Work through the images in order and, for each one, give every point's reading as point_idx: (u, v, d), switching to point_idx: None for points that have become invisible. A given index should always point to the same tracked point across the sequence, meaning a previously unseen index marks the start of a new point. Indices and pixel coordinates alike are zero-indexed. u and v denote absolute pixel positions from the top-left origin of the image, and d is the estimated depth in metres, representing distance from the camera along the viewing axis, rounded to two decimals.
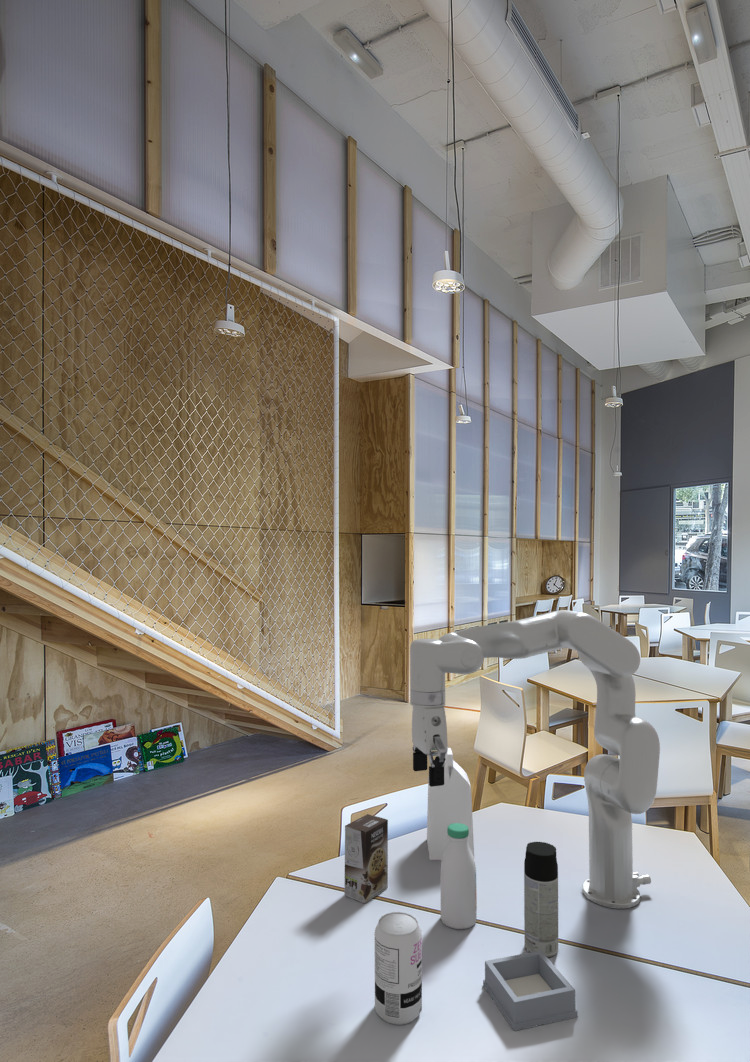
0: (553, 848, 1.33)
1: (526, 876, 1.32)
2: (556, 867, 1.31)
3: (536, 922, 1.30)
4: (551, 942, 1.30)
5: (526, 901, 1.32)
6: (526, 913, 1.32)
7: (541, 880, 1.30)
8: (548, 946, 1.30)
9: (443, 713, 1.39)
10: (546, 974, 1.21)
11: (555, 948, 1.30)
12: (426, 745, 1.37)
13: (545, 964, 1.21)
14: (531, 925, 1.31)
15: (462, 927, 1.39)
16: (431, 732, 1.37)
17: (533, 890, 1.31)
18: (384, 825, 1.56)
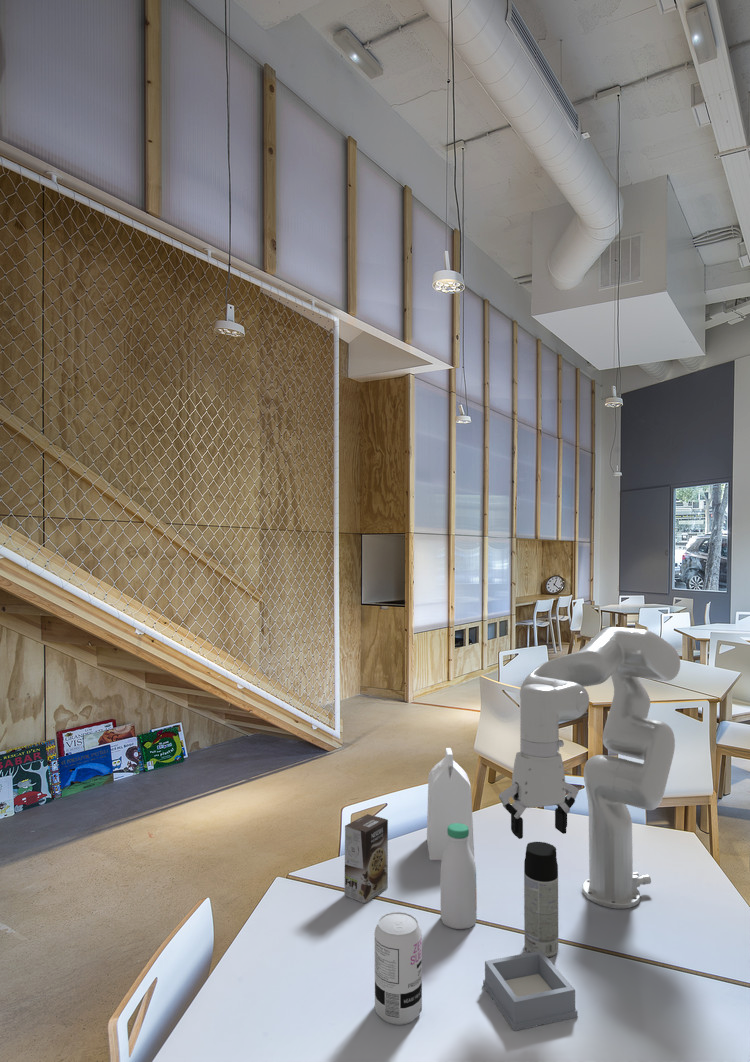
0: (553, 848, 1.33)
1: (526, 876, 1.32)
2: (556, 867, 1.31)
3: (536, 922, 1.30)
4: (551, 942, 1.30)
5: (526, 901, 1.32)
6: (526, 913, 1.32)
7: (541, 880, 1.30)
8: (548, 946, 1.30)
9: None
10: (546, 974, 1.21)
11: (555, 948, 1.30)
12: (564, 793, 1.33)
13: (545, 964, 1.21)
14: (531, 925, 1.31)
15: (462, 927, 1.39)
16: None
17: (533, 890, 1.31)
18: (384, 825, 1.56)
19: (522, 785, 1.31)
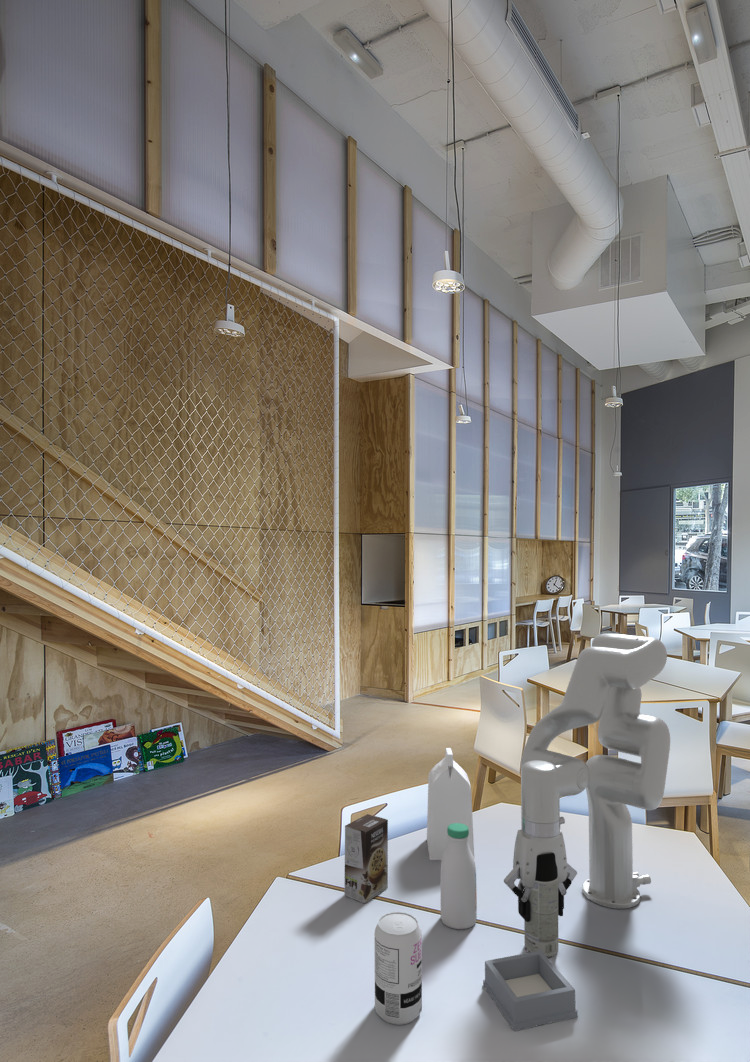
0: None
1: None
2: (556, 867, 1.31)
3: (536, 922, 1.30)
4: (551, 941, 1.30)
5: None
6: None
7: (541, 880, 1.30)
8: (548, 946, 1.30)
9: None
10: (546, 974, 1.21)
11: (555, 948, 1.30)
12: (565, 871, 1.33)
13: (545, 964, 1.21)
14: (531, 925, 1.31)
15: (462, 927, 1.39)
16: None
17: (533, 890, 1.31)
18: (384, 825, 1.56)
19: (523, 865, 1.30)
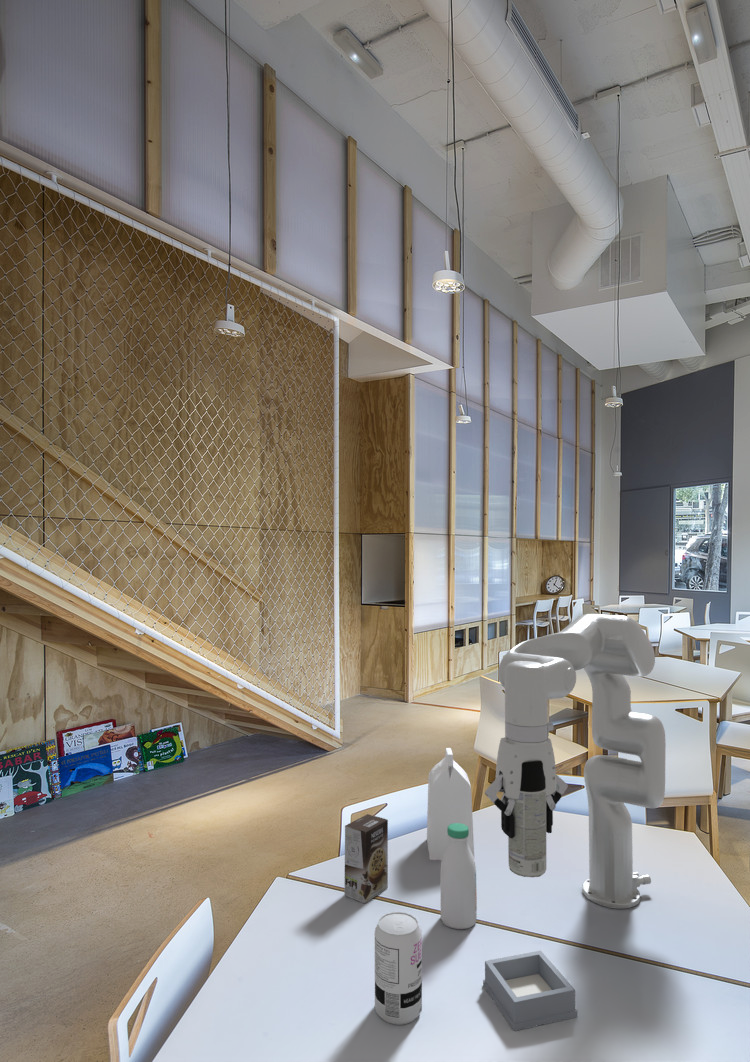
0: None
1: None
2: (544, 777, 1.17)
3: (521, 838, 1.16)
4: (537, 859, 1.15)
5: None
6: None
7: (527, 790, 1.15)
8: (535, 865, 1.15)
9: None
10: (546, 974, 1.21)
11: (542, 867, 1.16)
12: (554, 782, 1.18)
13: (545, 964, 1.21)
14: (516, 842, 1.16)
15: (462, 927, 1.39)
16: None
17: (518, 802, 1.16)
18: (384, 825, 1.56)
19: (507, 774, 1.16)
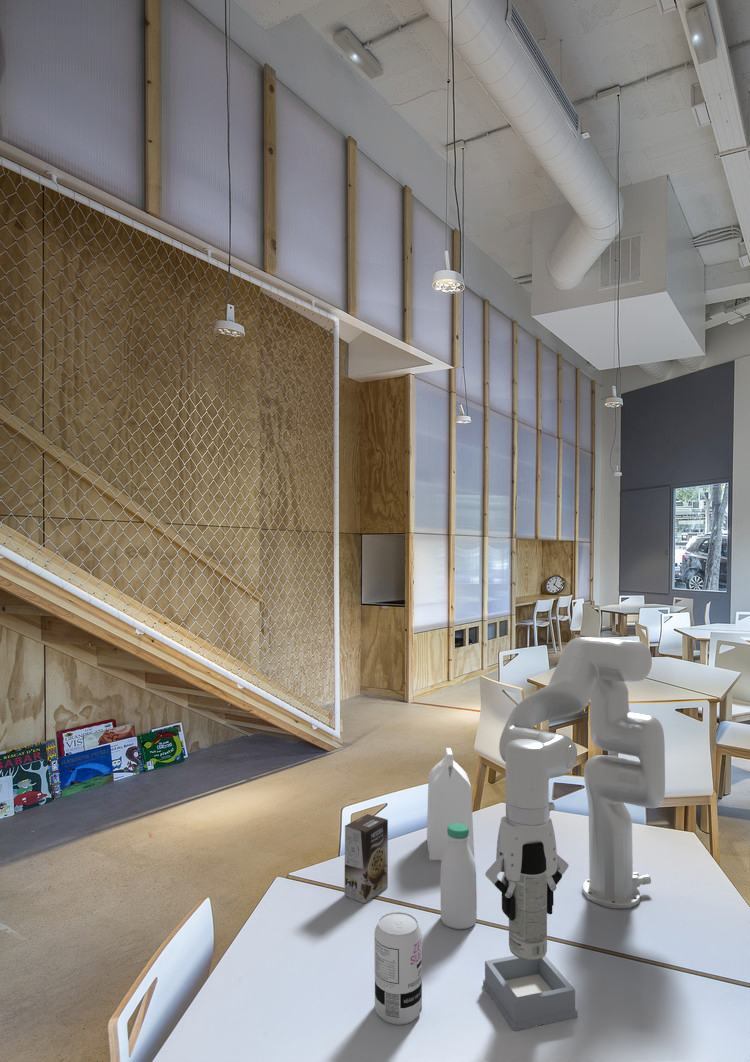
0: None
1: None
2: (545, 858, 1.16)
3: (521, 921, 1.15)
4: (538, 943, 1.15)
5: None
6: None
7: (527, 873, 1.15)
8: (535, 948, 1.15)
9: None
10: (546, 974, 1.21)
11: (543, 949, 1.15)
12: (555, 863, 1.18)
13: (545, 964, 1.21)
14: (516, 924, 1.16)
15: (462, 927, 1.39)
16: None
17: (518, 885, 1.16)
18: (384, 825, 1.56)
19: (507, 857, 1.15)
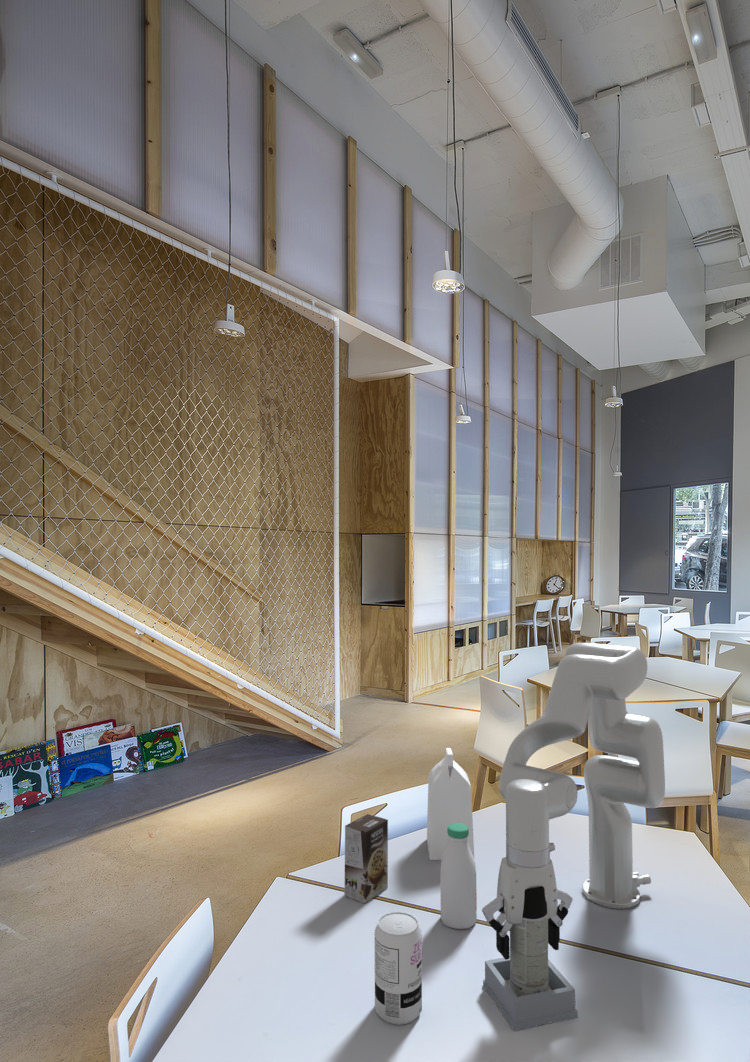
0: None
1: None
2: (545, 902, 1.16)
3: (522, 965, 1.15)
4: (539, 987, 1.15)
5: (512, 940, 1.17)
6: (512, 954, 1.17)
7: (528, 917, 1.15)
8: (537, 992, 1.15)
9: None
10: None
11: None
12: (556, 905, 1.17)
13: None
14: (517, 968, 1.16)
15: (462, 927, 1.39)
16: None
17: (520, 929, 1.16)
18: (384, 825, 1.56)
19: (508, 899, 1.15)
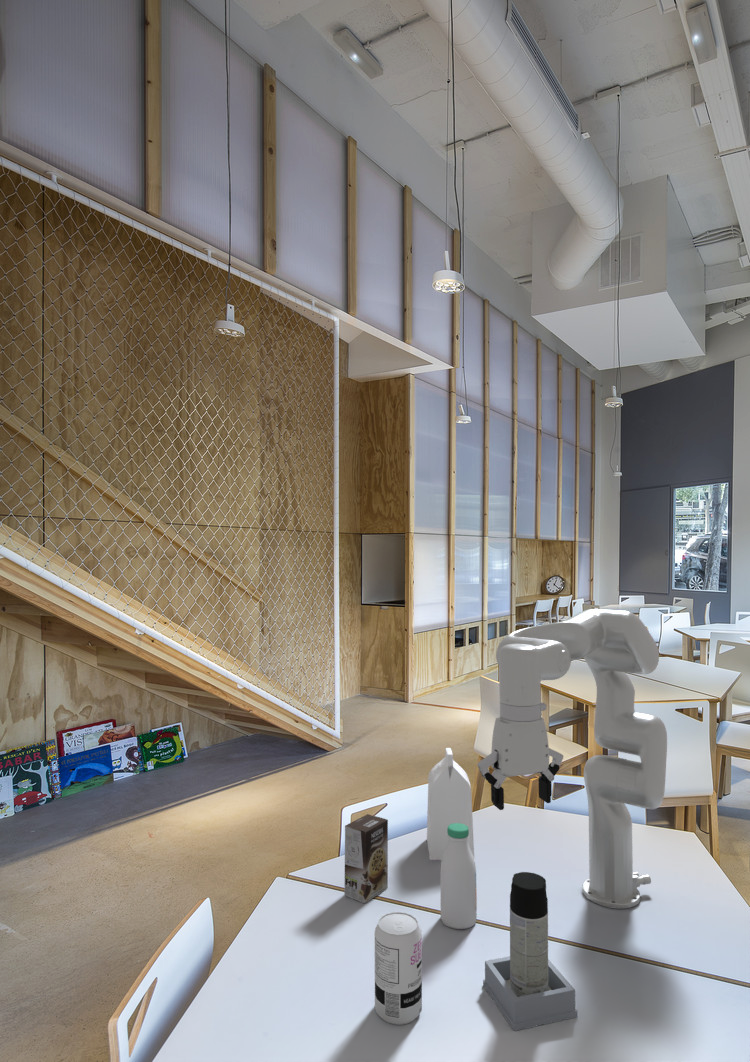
0: (542, 880, 1.18)
1: (512, 912, 1.17)
2: (546, 902, 1.16)
3: (522, 965, 1.15)
4: (539, 987, 1.15)
5: (512, 940, 1.17)
6: (512, 954, 1.17)
7: (528, 917, 1.15)
8: (537, 992, 1.15)
9: None
10: None
11: None
12: (547, 759, 1.23)
13: None
14: (518, 968, 1.16)
15: (462, 927, 1.39)
16: None
17: (520, 929, 1.16)
18: (384, 825, 1.56)
19: (502, 752, 1.20)
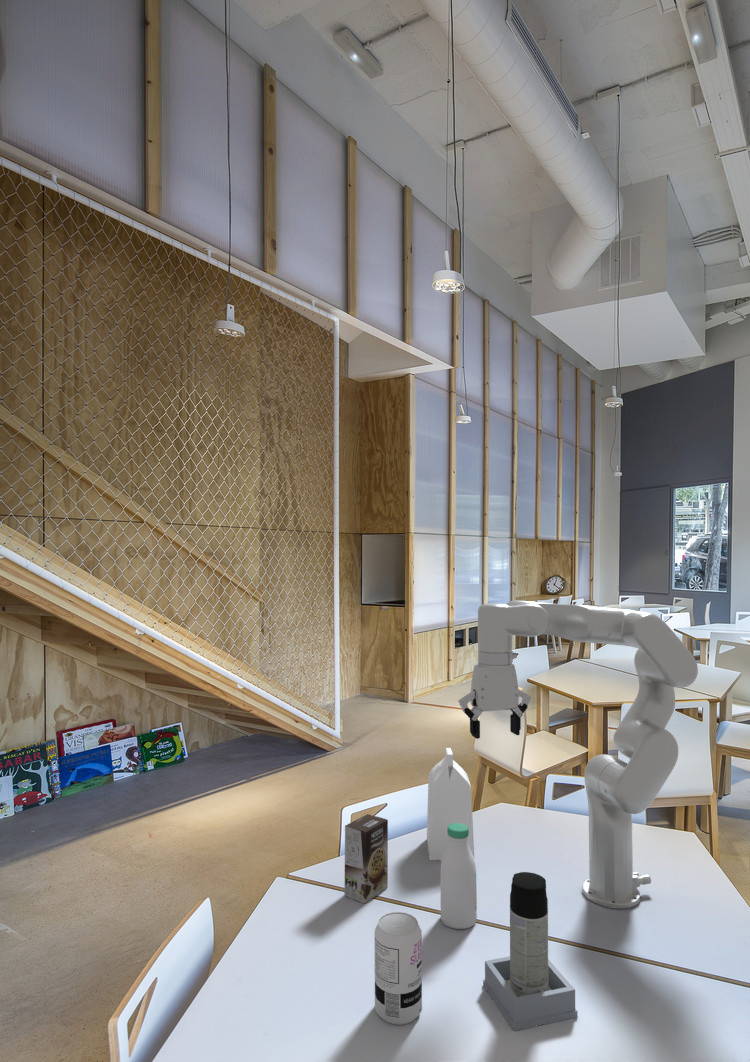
0: (542, 880, 1.18)
1: (512, 912, 1.17)
2: (546, 902, 1.16)
3: (522, 965, 1.15)
4: (539, 987, 1.15)
5: (512, 940, 1.17)
6: (512, 954, 1.17)
7: (528, 917, 1.15)
8: (537, 992, 1.15)
9: None
10: None
11: None
12: (517, 698, 1.48)
13: None
14: (518, 968, 1.16)
15: (462, 927, 1.39)
16: None
17: (520, 929, 1.16)
18: (384, 825, 1.56)
19: (479, 691, 1.46)
